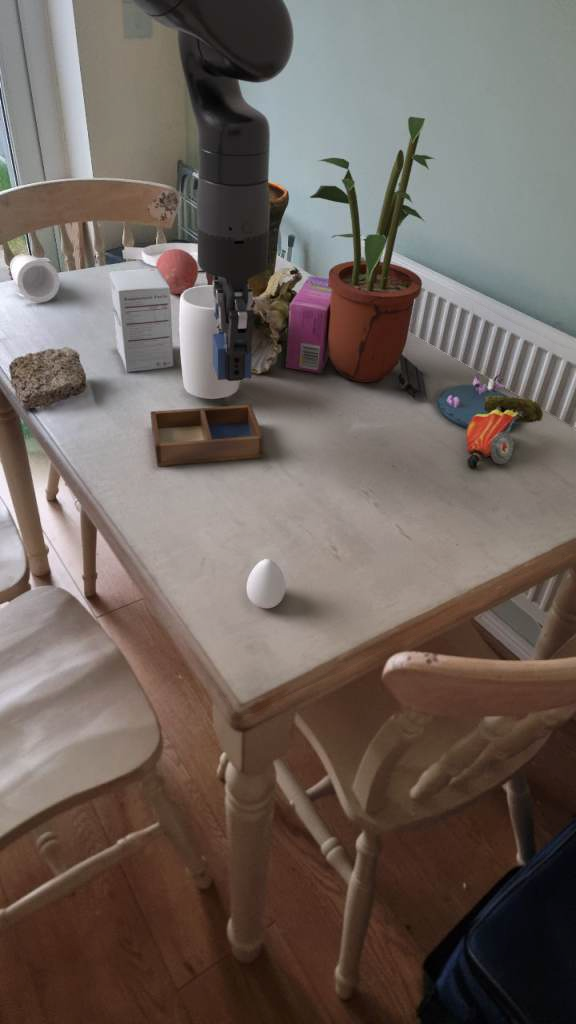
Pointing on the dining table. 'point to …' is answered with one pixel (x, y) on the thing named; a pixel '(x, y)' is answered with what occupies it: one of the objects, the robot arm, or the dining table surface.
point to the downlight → (35, 277)
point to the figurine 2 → (498, 428)
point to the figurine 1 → (272, 318)
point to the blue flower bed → (467, 401)
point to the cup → (200, 345)
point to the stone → (47, 377)
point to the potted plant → (373, 278)
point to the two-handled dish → (159, 252)
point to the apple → (178, 270)
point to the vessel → (277, 209)
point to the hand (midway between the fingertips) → (231, 369)
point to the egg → (266, 584)
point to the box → (309, 326)
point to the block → (220, 357)
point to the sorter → (206, 435)
